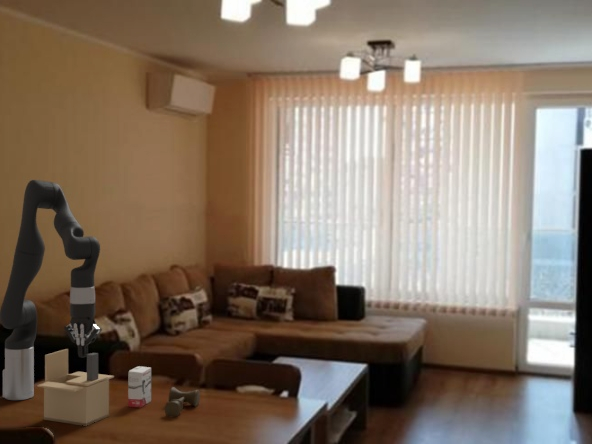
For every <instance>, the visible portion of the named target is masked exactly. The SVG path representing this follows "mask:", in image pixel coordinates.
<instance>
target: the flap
mask: <svg viewBox="0 0 592 444" xmlns="http://www.w3.org/2000/svg"><path fill="white" fill-rule="evenodd" d="M86 372H87V374H86V375H83V376H80V377H78V378H75V379H72V380H69V381H66V383H67V384H74V385H82V386H89V385H92V384H95V383H98V382H100V381H103V380H106V379H108V377H105V376H98V374H99V352H92V353H91V352H90V353H88V354H87V356H86Z"/></svg>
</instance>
